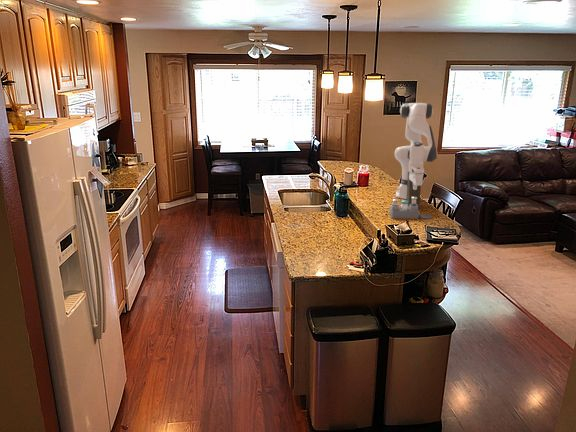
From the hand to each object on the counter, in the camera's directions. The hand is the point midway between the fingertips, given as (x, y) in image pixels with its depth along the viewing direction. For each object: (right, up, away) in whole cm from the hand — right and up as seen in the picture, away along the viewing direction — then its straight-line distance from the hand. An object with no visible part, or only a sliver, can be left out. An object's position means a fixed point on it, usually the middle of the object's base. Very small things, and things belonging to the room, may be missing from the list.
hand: (414, 189), depth 295 cm
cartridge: (-6, -17, +6) cm, 19 cm away
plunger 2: (0, -10, +3) cm, 11 cm away
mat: (+7, -18, +2) cm, 19 cm away
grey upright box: (+6, -11, +27) cm, 30 cm away
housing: (-6, -17, +6) cm, 19 cm away
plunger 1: (-12, -12, +4) cm, 17 cm away
